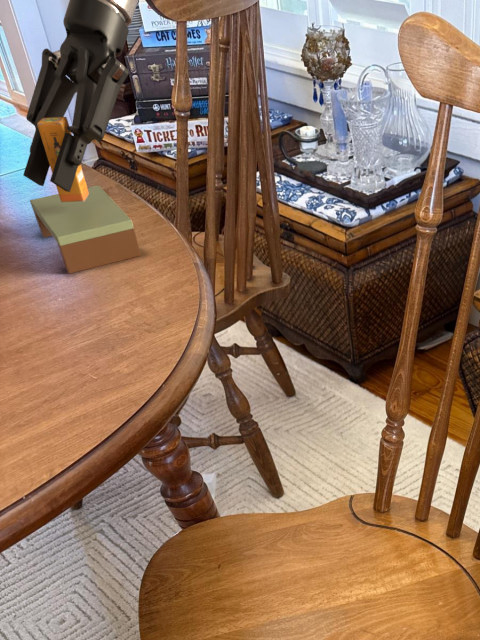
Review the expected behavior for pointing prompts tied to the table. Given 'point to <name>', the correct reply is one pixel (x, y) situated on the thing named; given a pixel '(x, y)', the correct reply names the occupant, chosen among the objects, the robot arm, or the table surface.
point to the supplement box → (52, 141)
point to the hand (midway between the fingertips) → (46, 183)
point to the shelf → (87, 229)
